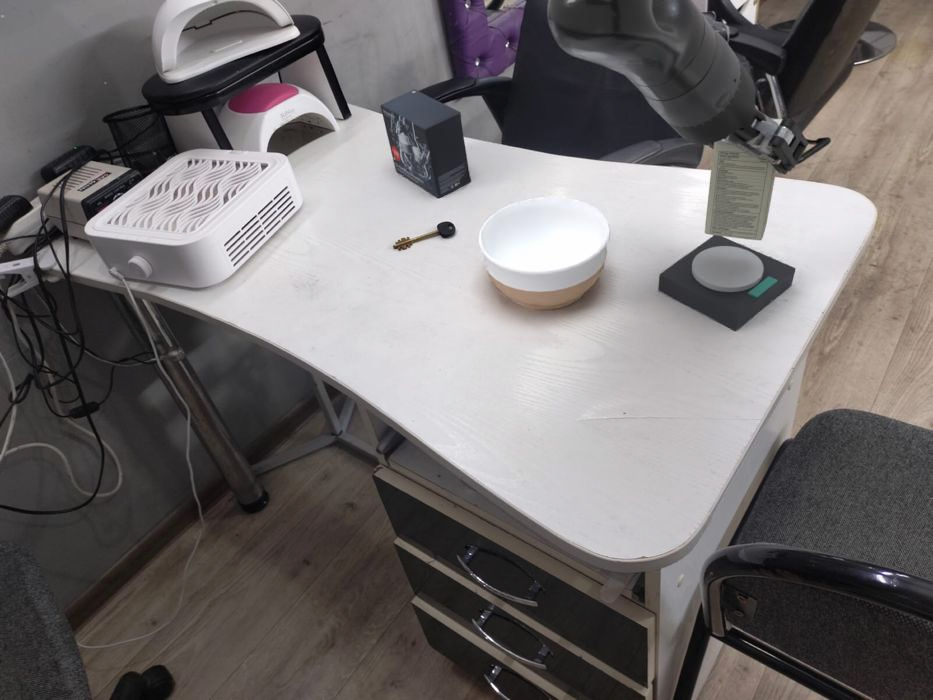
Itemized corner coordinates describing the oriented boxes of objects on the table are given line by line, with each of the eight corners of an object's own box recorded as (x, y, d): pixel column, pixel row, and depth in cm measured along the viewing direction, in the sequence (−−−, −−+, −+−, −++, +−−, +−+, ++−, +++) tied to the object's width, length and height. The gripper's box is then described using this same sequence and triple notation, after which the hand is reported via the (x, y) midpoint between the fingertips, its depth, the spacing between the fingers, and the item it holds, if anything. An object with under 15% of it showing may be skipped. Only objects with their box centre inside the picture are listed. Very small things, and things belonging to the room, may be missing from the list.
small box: (393, 171, 115) (377, 103, 107) (426, 156, 117) (413, 87, 109) (437, 199, 106) (424, 127, 98) (472, 182, 109) (462, 110, 101)
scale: (791, 285, 82) (797, 262, 79) (735, 331, 78) (739, 308, 75) (713, 250, 89) (716, 228, 86) (658, 290, 84) (659, 268, 82)
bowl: (558, 341, 80) (555, 289, 75) (459, 293, 89) (451, 243, 84) (634, 271, 88) (636, 219, 82) (536, 233, 96) (533, 184, 91)
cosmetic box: (767, 221, 77) (789, 118, 69) (761, 243, 74) (783, 138, 66) (708, 213, 79) (722, 113, 71) (700, 234, 77) (714, 132, 68)
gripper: (795, 60, 54) (840, 139, 66) (651, 26, 63) (715, 102, 75) (744, 148, 55) (797, 209, 68) (610, 103, 64) (679, 165, 77)
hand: (754, 153), depth 72 cm, fingers closed on cosmetic box, 7 cm apart
